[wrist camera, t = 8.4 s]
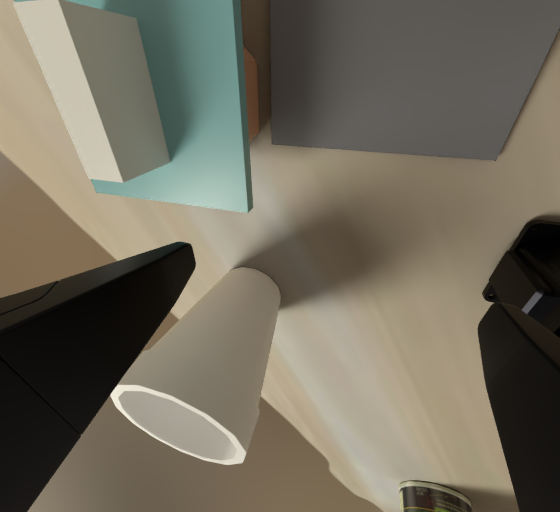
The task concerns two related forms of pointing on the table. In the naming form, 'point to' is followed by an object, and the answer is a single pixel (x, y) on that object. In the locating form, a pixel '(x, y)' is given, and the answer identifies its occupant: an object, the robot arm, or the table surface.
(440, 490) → the coffee can
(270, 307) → the foam cup
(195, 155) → the cover plate
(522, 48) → the mat
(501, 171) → the table surface
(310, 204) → the table surface
